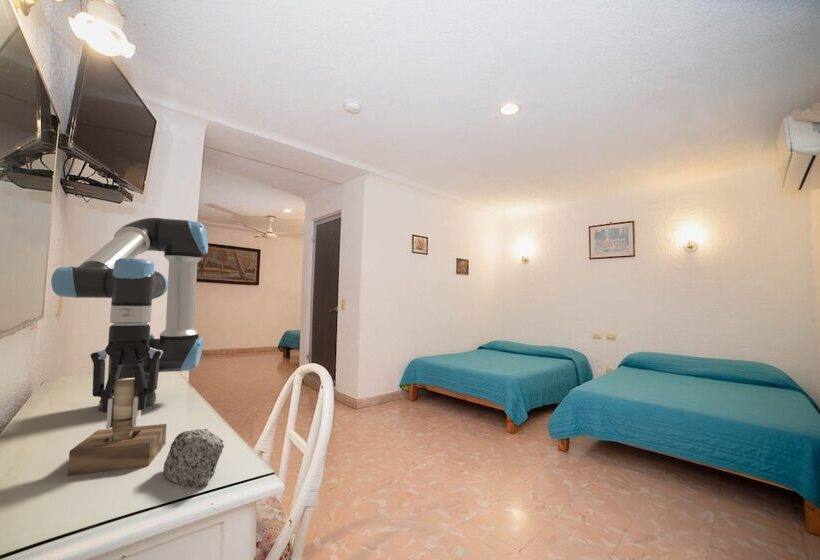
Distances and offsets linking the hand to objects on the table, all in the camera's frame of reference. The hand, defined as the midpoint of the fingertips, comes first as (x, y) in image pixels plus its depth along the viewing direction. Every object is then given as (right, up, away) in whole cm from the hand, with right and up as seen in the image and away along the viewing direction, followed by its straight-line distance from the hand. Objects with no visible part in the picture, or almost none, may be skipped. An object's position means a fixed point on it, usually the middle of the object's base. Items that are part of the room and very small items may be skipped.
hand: (123, 425), depth 80 cm
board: (0, -7, 0) cm, 8 cm away
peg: (0, -4, 0) cm, 4 cm away
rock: (+21, -8, -7) cm, 23 cm away
